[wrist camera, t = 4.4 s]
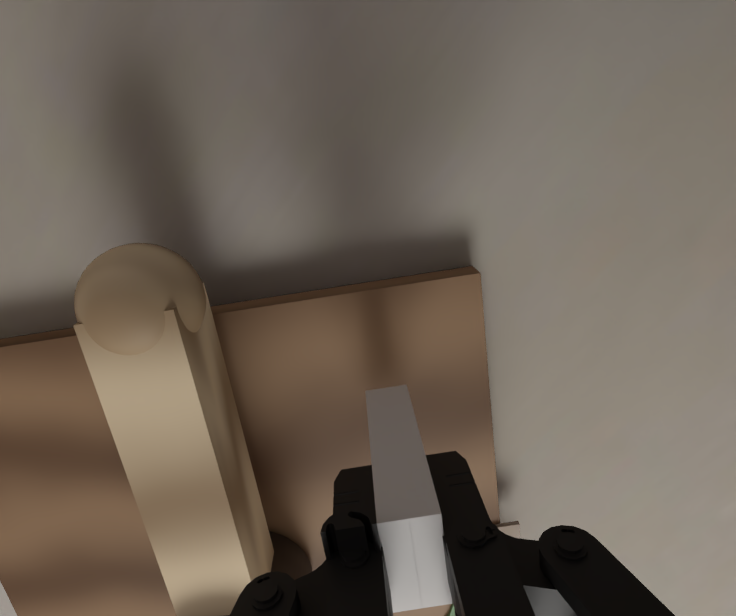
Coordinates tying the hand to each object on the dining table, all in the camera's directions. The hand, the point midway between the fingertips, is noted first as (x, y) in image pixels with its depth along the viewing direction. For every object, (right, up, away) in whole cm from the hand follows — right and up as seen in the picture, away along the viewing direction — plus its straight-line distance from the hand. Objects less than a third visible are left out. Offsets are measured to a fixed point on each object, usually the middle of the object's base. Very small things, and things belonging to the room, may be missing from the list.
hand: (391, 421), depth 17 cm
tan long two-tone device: (-6, -6, +3) cm, 9 cm away
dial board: (-6, -7, +5) cm, 11 cm away
